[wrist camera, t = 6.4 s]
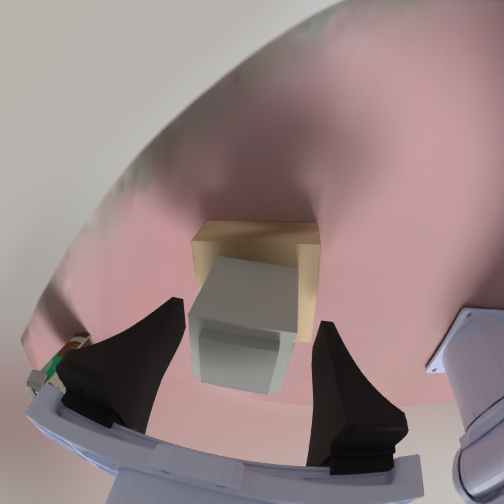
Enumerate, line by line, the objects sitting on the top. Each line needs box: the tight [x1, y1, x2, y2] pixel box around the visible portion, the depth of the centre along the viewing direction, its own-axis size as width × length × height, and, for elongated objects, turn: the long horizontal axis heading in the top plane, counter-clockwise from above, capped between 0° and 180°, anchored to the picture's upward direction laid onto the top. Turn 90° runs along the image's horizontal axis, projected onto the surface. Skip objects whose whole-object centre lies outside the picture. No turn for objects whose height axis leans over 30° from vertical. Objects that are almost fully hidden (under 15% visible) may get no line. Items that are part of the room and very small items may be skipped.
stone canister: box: [188, 256, 299, 394], centre depth 14 cm, size 4×4×6 cm
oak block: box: [191, 221, 321, 342], centre depth 18 cm, size 7×7×4 cm
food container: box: [26, 333, 94, 400], centre depth 24 cm, size 12×6×10 cm, turn 0°
